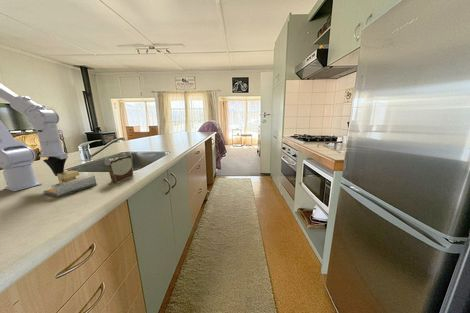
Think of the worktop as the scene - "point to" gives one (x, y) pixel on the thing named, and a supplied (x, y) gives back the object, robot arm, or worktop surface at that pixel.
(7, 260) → the worktop surface
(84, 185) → the grey and orange tray
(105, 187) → the worktop surface
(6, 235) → the worktop surface
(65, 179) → the clip nut
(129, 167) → the food container
